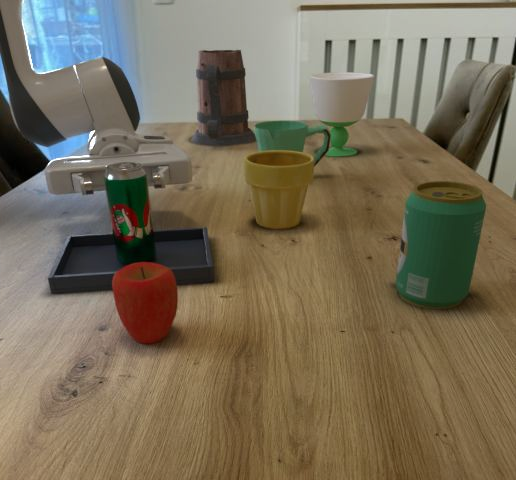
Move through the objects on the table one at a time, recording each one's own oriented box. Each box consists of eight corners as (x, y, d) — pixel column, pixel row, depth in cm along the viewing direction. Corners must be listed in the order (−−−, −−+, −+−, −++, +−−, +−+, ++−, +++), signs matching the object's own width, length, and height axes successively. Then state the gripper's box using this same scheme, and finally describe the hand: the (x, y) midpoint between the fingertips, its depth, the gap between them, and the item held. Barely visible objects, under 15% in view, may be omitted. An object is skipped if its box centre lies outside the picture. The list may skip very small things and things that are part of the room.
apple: (194, 334, 56) (188, 266, 52) (147, 359, 52) (136, 287, 48) (155, 315, 60) (147, 250, 56) (108, 337, 56) (95, 269, 52)
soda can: (144, 250, 75) (132, 158, 68) (164, 260, 71) (153, 166, 65) (110, 259, 72) (94, 165, 66) (129, 271, 68) (114, 173, 62)
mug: (262, 189, 101) (261, 131, 96) (249, 176, 109) (248, 122, 104) (337, 182, 104) (340, 126, 99) (319, 170, 112) (321, 117, 107)
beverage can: (400, 276, 67) (413, 177, 61) (469, 285, 65) (490, 183, 58) (389, 304, 61) (401, 197, 55) (464, 316, 58) (487, 204, 52)
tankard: (198, 132, 149) (192, 48, 138) (260, 132, 147) (258, 47, 137) (178, 151, 129) (169, 55, 118) (249, 152, 127) (246, 54, 117)
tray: (51, 294, 65) (47, 277, 64) (70, 249, 77) (67, 235, 76) (214, 282, 67) (213, 266, 66) (207, 241, 79) (206, 226, 78)
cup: (368, 160, 119) (374, 78, 110) (304, 158, 120) (306, 79, 112) (367, 146, 130) (373, 72, 122) (309, 145, 132) (311, 72, 124)
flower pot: (324, 218, 86) (327, 154, 81) (289, 238, 79) (290, 169, 74) (269, 208, 91) (268, 146, 86) (232, 225, 84) (229, 160, 79)
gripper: (42, 145, 80) (35, 168, 69) (181, 136, 85) (196, 155, 73) (51, 189, 84) (46, 217, 72) (184, 177, 88) (200, 201, 77)
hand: (123, 185), depth 73 cm, fingers open, 8 cm apart
